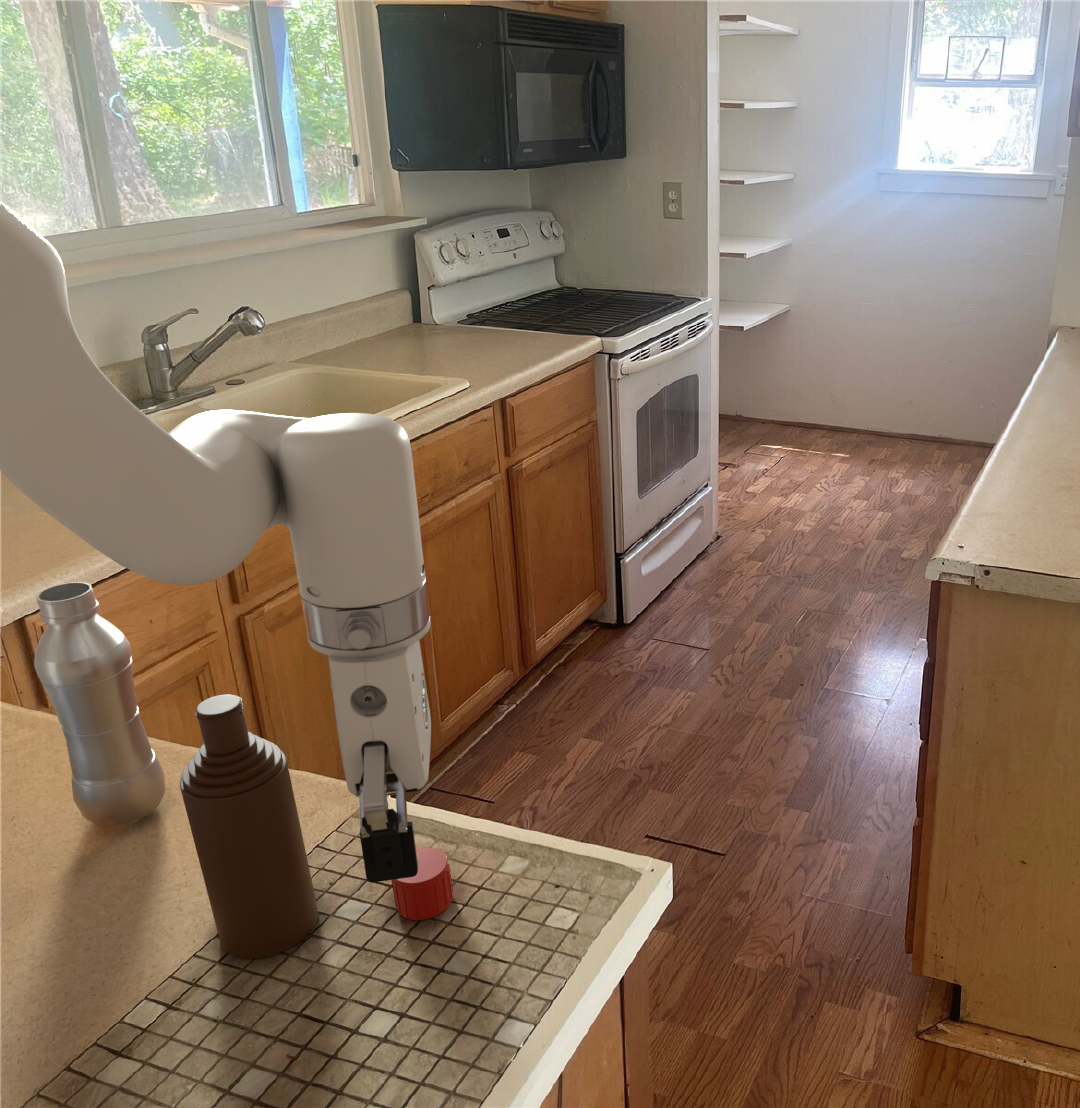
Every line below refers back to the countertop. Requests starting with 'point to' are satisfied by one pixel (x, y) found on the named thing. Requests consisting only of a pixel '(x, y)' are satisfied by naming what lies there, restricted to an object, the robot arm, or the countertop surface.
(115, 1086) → the countertop surface
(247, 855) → the sauce bottle
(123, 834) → the countertop surface
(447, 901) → the cap
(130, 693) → the silver water bottle
